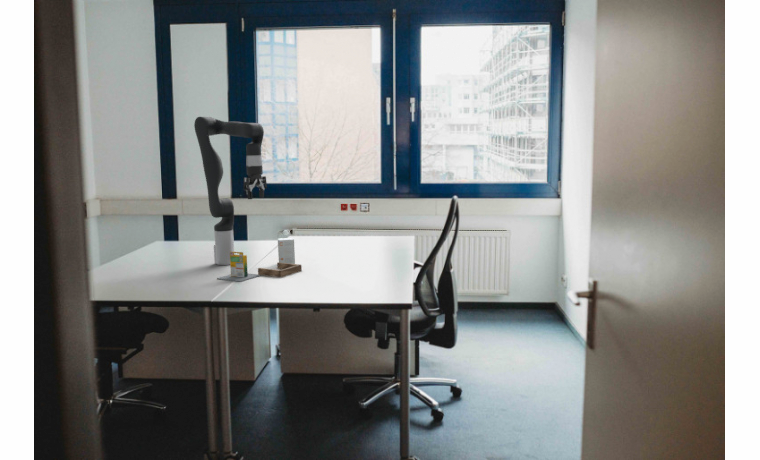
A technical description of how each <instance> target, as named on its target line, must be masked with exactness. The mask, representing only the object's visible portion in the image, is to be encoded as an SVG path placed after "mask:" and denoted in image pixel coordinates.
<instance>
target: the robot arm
mask: <svg viewBox="0 0 760 460" xmlns="http://www.w3.org/2000/svg"><path fill="white" fill-rule="evenodd" d="M193 127H194V131H195V136H196V139H197V142H198V146H199V150H200V155H201V160H202V167H203V171H204V177H205V181H206V188H207V194H208V195H207V197H208V208H209V212H210V214H211V216H212V218H215V219H218V218H221V219H220V221H218V222H217V223H216V224H215V225H214V226H213V229H214V245H213V254H214V255H213V257H214V264H215V265H217V266H226V265H227V266H228V265H230V252H235V244H234V243H235V242H234V241H235V240H234V225H235V209H234V208H235V205H234V203H233V201H232V200H231V198H220V196H219V187H220V183H221V181H222V180H223V176H224V168H223V162H222V158H221V156H220V155H219V153H218V152H217V150H216V149H215V148H214V147H213V145H212V142H211V140H210V139H211V138H210V136H216V135H227V136H231V137H232V136H233V137H238V138H239V137H240V138H241V137H242V138H246V139H251V140H250V141H251V142H249V143H247V144H245V145H246V146H245V148H246V149H245V150H246V160H245V161H246V175H247V176H248V177H243V191H246V194H247V195H246V197H247V200H253V189H254V188H255V187H257V188H258V194H259V195H258V196H259V198H260V199H264V197H265V189H267V188H268V186H267V185H268V183H267V177H266V175H265V176H262V175H263V173H264V172H263V158H262V144H263V140H264V134H265V133H264V132H265V131H264V127H263V125H262V124H260V123H257V122H242V121H224V120H220V119H217V118H214V117H210V116H209V117H208V116H198V117H196V118H195V120H194V126H193Z"/></svg>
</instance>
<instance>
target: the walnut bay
mask: <svg viewBox="0 0 760 460" xmlns="http://www.w3.org/2000/svg"><path fill="white" fill-rule="evenodd" d="M276 266H277V267H276V268H277V269H273V268H266V267H258V268H257V274H258V275H261V276H265V277H267V276H268V277H276V278H283V277H287V276H290V275H293V274H296V273H300V272H302V267H303V266H302V264H298V263H295V264H290V263H280V262H279V261H277V265H276Z"/></svg>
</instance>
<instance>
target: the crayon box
mask: <svg viewBox="0 0 760 460" xmlns="http://www.w3.org/2000/svg"><path fill="white" fill-rule="evenodd" d="M229 265H230V274H231V277H232V276H233V277H247V276H248V273H249V272H248V256H247V254H244V251H243V252H242V251H234V252H230V264H229Z"/></svg>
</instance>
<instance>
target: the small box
mask: <svg viewBox="0 0 760 460" xmlns="http://www.w3.org/2000/svg"><path fill="white" fill-rule="evenodd" d="M277 248H278V249H277V253H278V256H277V257H278V262H280V263H290V264H296V255H295V253H296V252H295V251H296V250H295V239H294V237H284V238H281V237H280V238H279V237H278V238H277Z"/></svg>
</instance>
